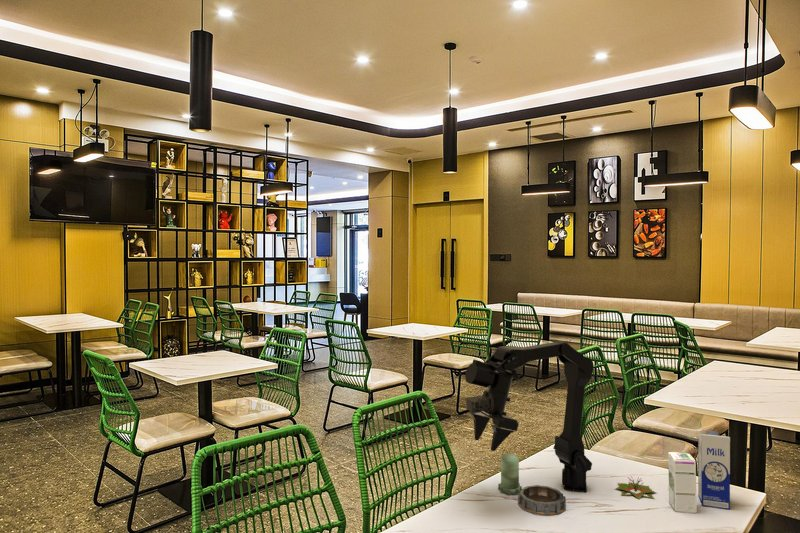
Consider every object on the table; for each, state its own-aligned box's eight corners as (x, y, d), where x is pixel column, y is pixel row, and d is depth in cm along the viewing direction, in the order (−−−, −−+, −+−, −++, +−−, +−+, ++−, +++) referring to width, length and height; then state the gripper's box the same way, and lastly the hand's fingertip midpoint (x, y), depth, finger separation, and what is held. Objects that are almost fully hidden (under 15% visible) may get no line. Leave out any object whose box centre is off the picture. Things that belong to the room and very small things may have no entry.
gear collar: (565, 497, 155) (565, 487, 155) (565, 518, 143) (565, 507, 143) (520, 492, 159) (520, 482, 159) (516, 512, 147) (516, 501, 147)
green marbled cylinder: (522, 487, 163) (522, 454, 163) (520, 496, 156) (520, 462, 156) (499, 484, 165) (499, 451, 165) (497, 493, 158) (496, 459, 158)
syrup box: (697, 513, 145) (697, 460, 145) (673, 511, 146) (673, 458, 146) (690, 504, 151) (690, 452, 150) (667, 502, 152) (667, 451, 152)
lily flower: (654, 486, 163) (654, 471, 163) (661, 504, 152) (661, 488, 152) (611, 482, 167) (611, 467, 167) (616, 499, 155) (616, 483, 155)
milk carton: (701, 505, 150) (701, 434, 149) (697, 495, 156) (697, 426, 156) (730, 509, 147) (730, 436, 147) (725, 499, 153) (725, 429, 153)
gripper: (459, 377, 159) (445, 430, 158) (491, 392, 141) (475, 451, 140) (491, 385, 163) (477, 436, 161) (526, 401, 145) (511, 458, 144)
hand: (484, 445), depth 151 cm, fingers open, 9 cm apart
